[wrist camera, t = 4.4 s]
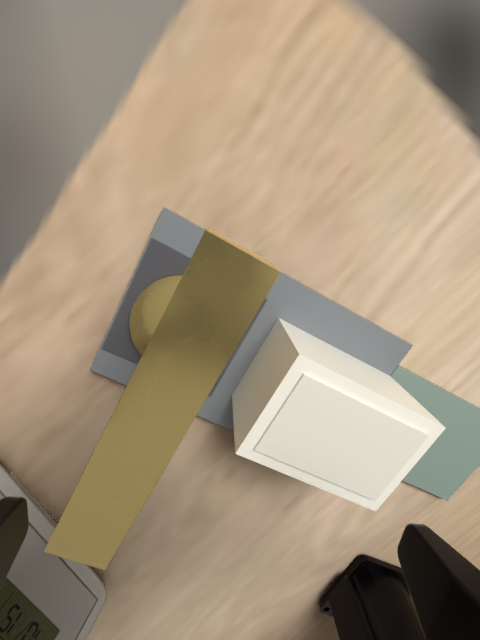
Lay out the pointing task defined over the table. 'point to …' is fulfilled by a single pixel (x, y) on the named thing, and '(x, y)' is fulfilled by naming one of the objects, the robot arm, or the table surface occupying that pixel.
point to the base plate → (281, 302)
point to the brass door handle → (162, 390)
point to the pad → (443, 437)
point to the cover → (328, 418)
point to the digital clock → (45, 582)
